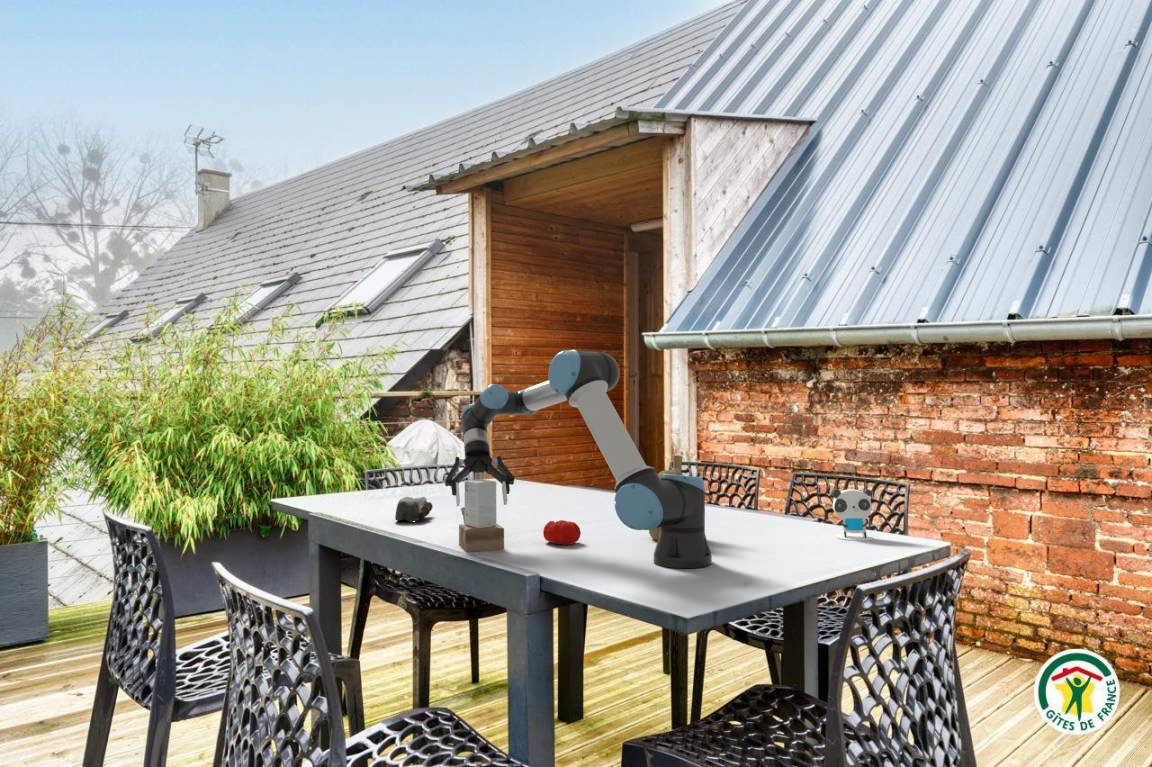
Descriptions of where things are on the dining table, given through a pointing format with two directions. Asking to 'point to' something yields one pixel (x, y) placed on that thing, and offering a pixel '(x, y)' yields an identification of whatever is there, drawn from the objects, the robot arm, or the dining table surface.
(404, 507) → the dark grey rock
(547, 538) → the tomato
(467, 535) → the walnut block
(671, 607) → the dining table surface
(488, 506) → the small box
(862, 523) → the panda figurine
